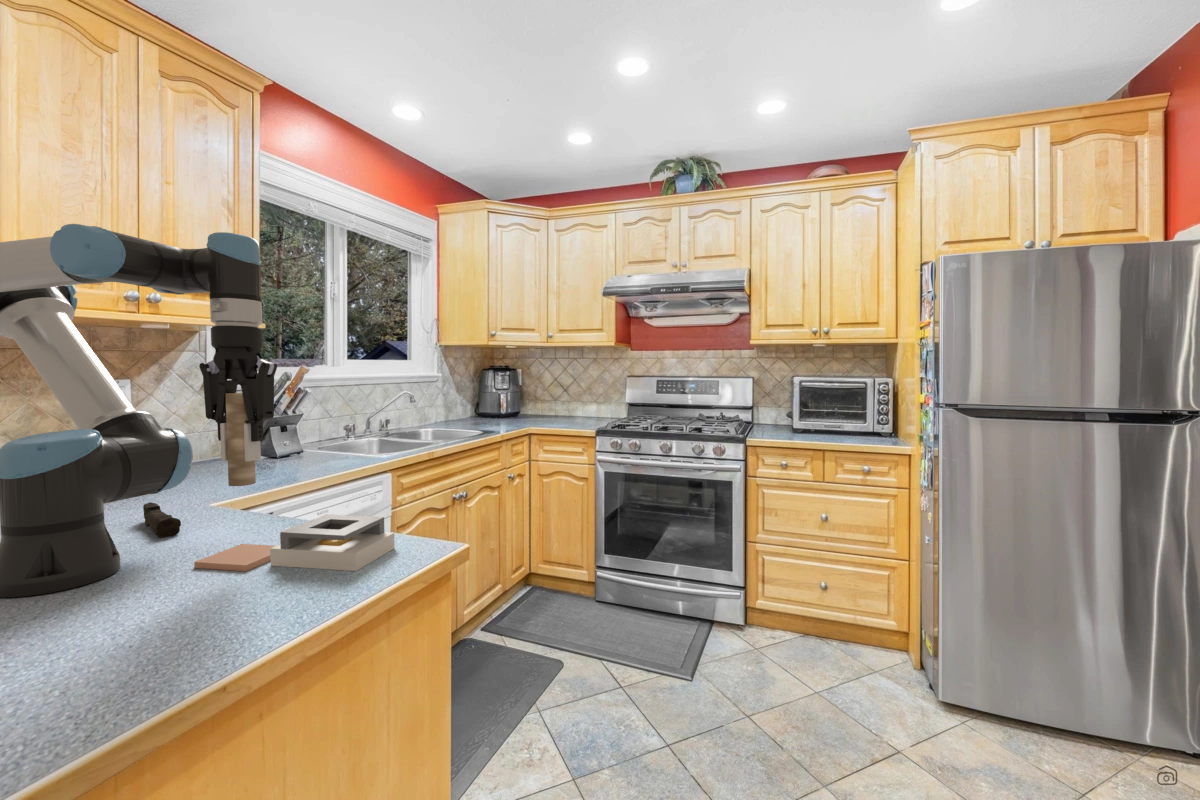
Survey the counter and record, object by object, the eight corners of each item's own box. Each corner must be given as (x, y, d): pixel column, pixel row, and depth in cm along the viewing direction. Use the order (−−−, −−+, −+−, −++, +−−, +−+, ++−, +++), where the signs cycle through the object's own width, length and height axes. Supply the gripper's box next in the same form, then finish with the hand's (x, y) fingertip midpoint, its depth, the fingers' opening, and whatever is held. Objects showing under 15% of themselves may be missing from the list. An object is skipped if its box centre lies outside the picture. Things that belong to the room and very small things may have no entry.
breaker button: (313, 560, 96) (313, 543, 96) (331, 551, 101) (331, 535, 101) (339, 561, 95) (338, 544, 95) (356, 552, 100) (356, 536, 100)
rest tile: (194, 567, 92) (194, 561, 92) (242, 549, 102) (242, 543, 102) (246, 571, 91) (246, 565, 90) (289, 551, 100) (289, 546, 100)
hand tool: (181, 535, 111) (181, 513, 111) (156, 540, 108) (156, 517, 108) (163, 519, 124) (162, 499, 124) (140, 522, 121) (140, 502, 121)
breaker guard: (270, 565, 93) (269, 531, 93) (317, 544, 105) (317, 513, 105) (356, 571, 91) (355, 536, 90) (394, 548, 102) (393, 517, 102)
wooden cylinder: (222, 485, 94) (219, 393, 93) (241, 481, 98) (238, 392, 97) (243, 486, 93) (240, 393, 93) (261, 482, 97) (258, 392, 97)
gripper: (174, 324, 92) (179, 462, 93) (263, 323, 89) (268, 464, 90) (213, 328, 99) (217, 455, 101) (296, 327, 97) (299, 457, 98)
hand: (241, 459), depth 95 cm, fingers closed on wooden cylinder, 4 cm apart
